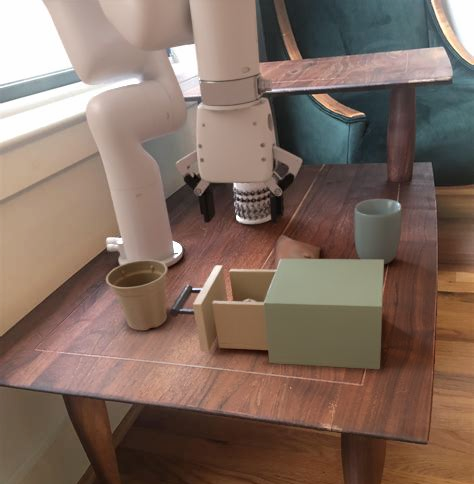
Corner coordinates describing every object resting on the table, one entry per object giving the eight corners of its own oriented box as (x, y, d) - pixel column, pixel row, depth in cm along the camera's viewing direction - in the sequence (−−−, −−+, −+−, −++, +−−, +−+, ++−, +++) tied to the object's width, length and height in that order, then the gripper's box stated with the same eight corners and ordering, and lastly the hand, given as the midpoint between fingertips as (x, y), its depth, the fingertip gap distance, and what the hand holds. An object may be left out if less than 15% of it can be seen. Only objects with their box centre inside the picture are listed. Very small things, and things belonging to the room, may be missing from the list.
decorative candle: (284, 215, 119) (276, 94, 106) (250, 228, 115) (237, 104, 102) (260, 205, 126) (249, 90, 113) (226, 217, 122) (211, 99, 109)
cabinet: (269, 363, 74) (263, 302, 69) (284, 314, 85) (280, 258, 80) (379, 369, 71) (382, 306, 66) (381, 317, 81) (384, 259, 76)
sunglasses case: (327, 294, 87) (304, 263, 85) (290, 315, 90) (267, 285, 87) (321, 246, 102) (301, 219, 100) (290, 265, 105) (270, 239, 103)
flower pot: (125, 307, 92) (113, 261, 87) (180, 303, 91) (171, 256, 87) (112, 339, 84) (99, 290, 79) (172, 334, 83) (162, 285, 79)
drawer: (169, 349, 78) (159, 303, 74) (193, 308, 87) (186, 264, 83) (295, 356, 74) (292, 307, 69) (307, 312, 83) (304, 266, 79)
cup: (400, 270, 92) (403, 215, 87) (353, 270, 94) (353, 216, 89) (398, 250, 99) (401, 197, 93) (354, 251, 100) (354, 199, 95)
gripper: (304, 81, 69) (307, 209, 78) (175, 88, 73) (193, 208, 82) (294, 95, 63) (299, 232, 72) (155, 101, 67) (176, 229, 76)
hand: (242, 219), depth 77 cm, fingers open, 9 cm apart
